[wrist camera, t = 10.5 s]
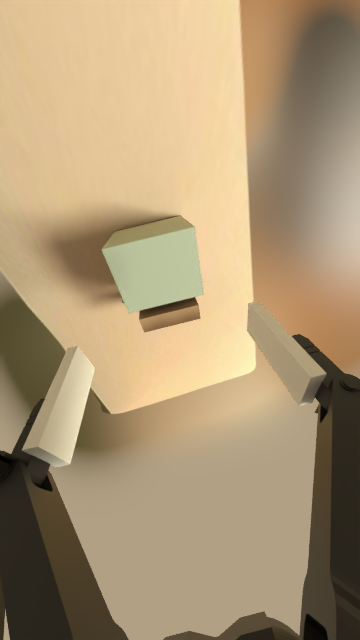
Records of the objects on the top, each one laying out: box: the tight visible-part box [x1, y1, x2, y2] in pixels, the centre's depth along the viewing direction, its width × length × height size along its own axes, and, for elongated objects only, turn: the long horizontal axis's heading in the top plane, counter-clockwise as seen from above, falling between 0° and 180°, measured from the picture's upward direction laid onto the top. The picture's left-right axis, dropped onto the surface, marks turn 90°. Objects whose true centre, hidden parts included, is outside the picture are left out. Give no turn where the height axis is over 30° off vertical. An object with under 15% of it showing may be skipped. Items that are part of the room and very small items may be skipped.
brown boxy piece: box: [139, 297, 200, 332], centre depth 33 cm, size 4×9×11 cm, turn 101°
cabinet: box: [101, 216, 204, 313], centre depth 30 cm, size 15×12×11 cm
